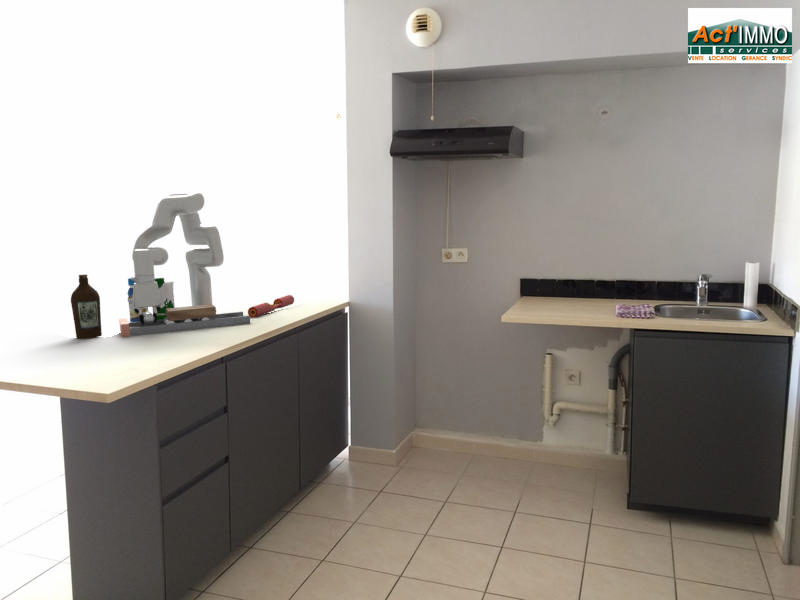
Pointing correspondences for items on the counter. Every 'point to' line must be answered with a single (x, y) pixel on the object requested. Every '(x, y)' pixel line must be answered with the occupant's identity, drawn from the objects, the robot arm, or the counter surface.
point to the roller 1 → (148, 318)
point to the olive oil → (86, 310)
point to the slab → (190, 312)
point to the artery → (270, 306)
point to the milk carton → (165, 297)
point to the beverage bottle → (133, 315)
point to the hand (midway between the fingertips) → (148, 323)
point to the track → (181, 324)
